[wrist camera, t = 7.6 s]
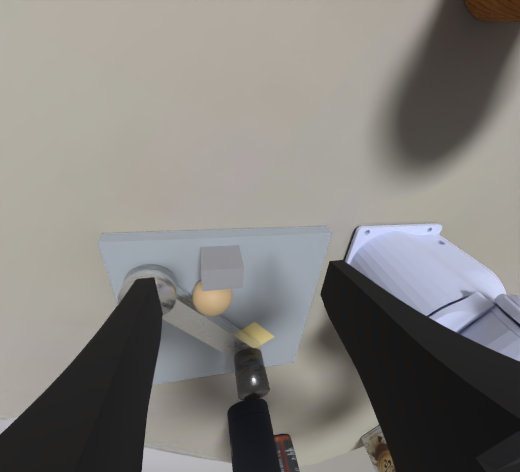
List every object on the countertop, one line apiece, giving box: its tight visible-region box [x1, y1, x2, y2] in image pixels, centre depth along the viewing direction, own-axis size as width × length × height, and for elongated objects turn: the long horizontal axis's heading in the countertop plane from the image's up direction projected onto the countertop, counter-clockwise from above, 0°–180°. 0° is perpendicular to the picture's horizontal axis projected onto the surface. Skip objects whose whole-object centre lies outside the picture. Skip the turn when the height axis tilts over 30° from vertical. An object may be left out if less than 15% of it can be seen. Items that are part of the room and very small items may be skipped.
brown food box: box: [361, 425, 396, 472], centre depth 55 cm, size 9×6×16 cm
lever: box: [117, 265, 270, 401], centre depth 21 cm, size 16×4×5 cm, turn 35°
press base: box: [97, 226, 332, 385], centre depth 24 cm, size 18×20×4 cm
